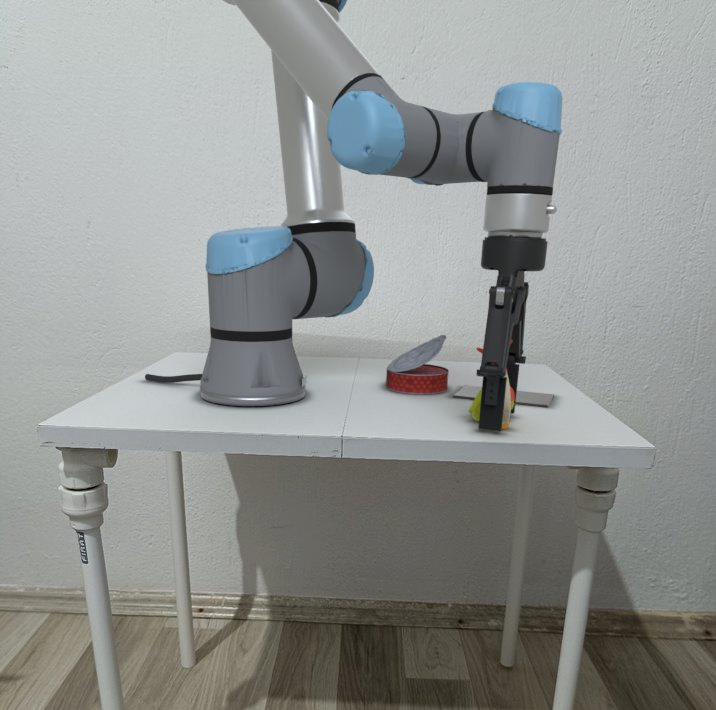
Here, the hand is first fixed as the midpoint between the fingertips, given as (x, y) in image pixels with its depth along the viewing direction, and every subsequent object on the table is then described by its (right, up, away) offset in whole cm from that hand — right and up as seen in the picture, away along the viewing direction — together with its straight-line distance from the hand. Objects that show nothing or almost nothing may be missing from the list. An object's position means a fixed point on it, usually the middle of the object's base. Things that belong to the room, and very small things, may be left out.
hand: (497, 420), depth 86 cm
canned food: (-9, +7, +21) cm, 23 cm away
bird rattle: (0, -1, 0) cm, 1 cm away
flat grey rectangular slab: (+4, +5, +16) cm, 17 cm away
